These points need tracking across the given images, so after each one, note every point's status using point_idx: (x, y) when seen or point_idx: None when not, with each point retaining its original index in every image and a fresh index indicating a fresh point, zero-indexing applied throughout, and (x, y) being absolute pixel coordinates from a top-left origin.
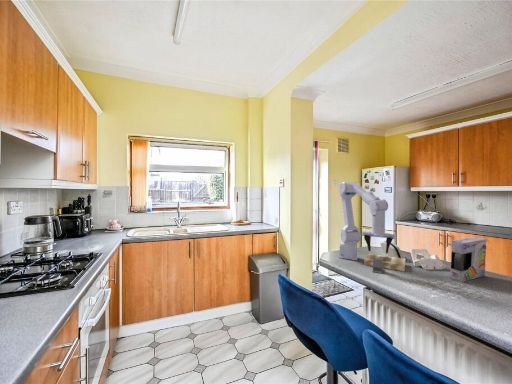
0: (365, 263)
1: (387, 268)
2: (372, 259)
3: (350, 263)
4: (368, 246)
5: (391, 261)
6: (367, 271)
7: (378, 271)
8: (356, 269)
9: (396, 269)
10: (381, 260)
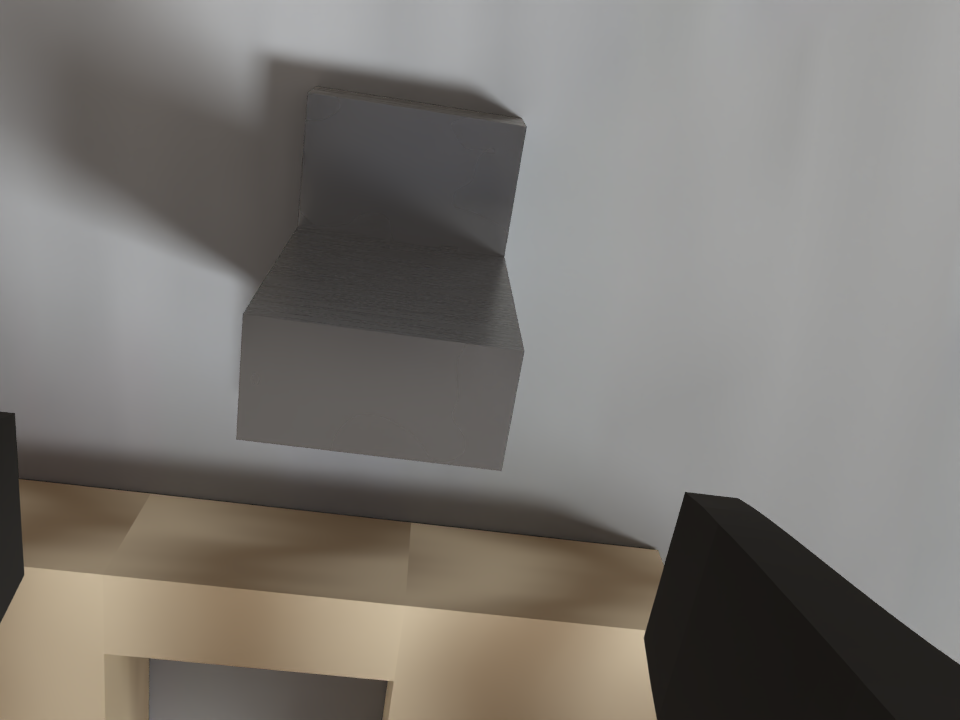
0: (646, 571)
1: (207, 502)
2: (507, 691)
3: (938, 535)
4: (847, 606)
5: (95, 709)
6: (631, 116)
7: (383, 102)
8: (873, 161)
9: (26, 489)
10: (272, 313)
